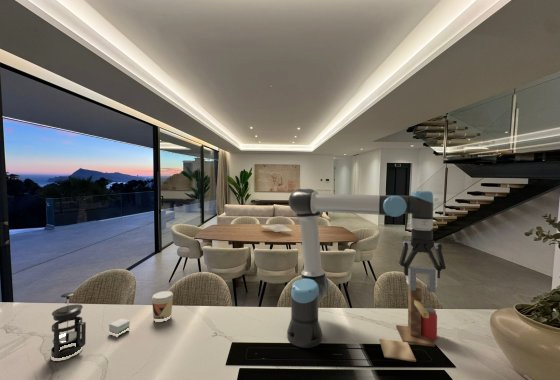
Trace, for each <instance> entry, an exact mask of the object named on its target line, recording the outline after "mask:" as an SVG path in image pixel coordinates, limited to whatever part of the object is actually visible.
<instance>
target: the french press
mask: <svg viewBox="0 0 560 380" xmlns="http://www.w3.org/2000/svg"><path fill="white" fill-rule="evenodd" d="M75 294H76V293H75V292H72V291H70V292H66V293H63V294H61V295H60V298H66V301H67V302H66V305H64V306H62V307H59V308H57V309H54V310H53V311H52V312H51V316H53V320H54V321H56V322H54V323H53V324H52V325H51V332H52V333H53V339H52V344H53V347H52V348H51V349H50V350H51V351H50V354H51V355H50V357H51V356H52V357H54V358H62V357H66V356H69V355H72V354H74V353H75V352H77V351H78V350H80V349H81V347H84V346H85V345H86V334H87V331H86V330H87V326H86V324H87V322H86V321H83V317H82V316H79V315H80V314H82V309H83V305H82V304H78V303H77V304H69V300H70V297H72V296H74V295H75ZM70 321H74V324H73V325H70V326H69V322H70ZM63 323H66V327H63V328H59V327H60V326H59V325H61V324H63ZM61 333H62V334H61ZM71 343H76V347H71V349H70V348H69V349H66V350H63V351H60V352H59V350H60V347H62V346H64V345H68V344H71Z"/></svg>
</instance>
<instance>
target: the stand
mask: <svg viewBox="0 0 560 380" xmlns="http://www.w3.org/2000/svg"><path fill="white" fill-rule="evenodd" d="M407 289H408V290H407V291H408V292H407V293H408V294H407V296H408V297H407V299H408V301H407V302H408V303H407V325H399V324H395V325H396V330H397V332H398V334H399V336H400V339H401V342H408V344H411V345H416V346H417V345H419V346H426V347H433V348H435V347H436V343H435V342H434V340H432V339H431V338H427V337H424V336H422V335H421V315H422V316H423V318H429V313H428V312H427V311H426V309H425V308H424V305H423V304H422V288H421V287H420V285H419V284H416V291H415V290H410V289H409V288H407Z"/></svg>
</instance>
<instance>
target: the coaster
mask: <svg viewBox="0 0 560 380" xmlns="http://www.w3.org/2000/svg"><path fill="white" fill-rule="evenodd" d="M379 344H380V346H381V350H382V353H383V356H384V358H388V359H394V360H401V361H407V362H415V363H416V362H417V359H416V357H415V355H414V353H413V351H412V349H411V346H410V345H409V343H408V342H403V341H402V340H401V341H399V340H392V339H386V338H385V339H384V338H379Z"/></svg>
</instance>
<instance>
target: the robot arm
mask: <svg viewBox="0 0 560 380" xmlns="http://www.w3.org/2000/svg"><path fill="white" fill-rule="evenodd" d="M288 205H289V208H290V210H292V212H293V213H295V214H296V218H297V219H298V220H299V221H300V233H301V234H300V235H301V248H302V258H303V259H302V261H303V270H302V271H301V272H300V273H301V274H300V275H301V278H300V279H297V280H295V281H294V282H293V283H292V284H291V291H290V295H291V296H290V301H291V309H290V310H291V312H290V313H291V314H290V321H289V325H288V328H287V330H286V338H287V341H288V342H289V343H291V344H292V345H293V346H295V347H297V348H303V349H305V348H306V349H310V348H314V347H317V346H318V345H320V344H321V343H322V342H323V331H322V328H321V326H320V322H319V305H320V304H321V302H322V300H323V299H324V298H325V297H326V295H327V294H328V291H329V288H330V283H329V280H328V278H327V276H326V271H325V270H324V269H323V267H322V266H323V265H322V255H321V244H320V232H319V221H318V219H319V218H320V217H321V212H325V213H342V214H343V213H344V214H362V215H378V216H388V217H389V216H390V217H393V218H395V217H396V218H397V217H401V216H402V215H403V214H407V215H408V214H409V215H410V214H411V228H412V229H411V230H410V231H411V232H410V233H411V239H410V241H403V242H402V251H401V255H400V257H399V261H398V264H399V265H400V267H403V275H404V276H406V281H405V282H406V284H407V286H408V285H410V270H411V269H410V268H409V266H411V264H412V262H413V260H414V259H415V257H416V256H417V254H418V253H424V254H425V253H426V254H427V255H428V258H429V259H430V262H431V264H432V265H433V268H434V269H435V270H436V277H435V288H438V279H440V278H441V271H442V270H445V269H446V268H447V267H446V263H445V260H444V255H443V251H442V250H443V249H442V248H443V245H442V244H441V243H439V242H436V243H435V242H434V241H433V240H434V231H433V229H434V194H433V192H432V191H429V190H413V191H412V192H411V194H410V195H394V194H393V195H392V194H387V195H379V194H378V195H377V194H345V193H344V194H341V193H340V194H338V193H337V194H336V193H332V194H331V193H319V192H318V191H316V190H314V189H311V188H298V189H294V191H292V192H291V193H290V195H289V198H288ZM411 246H412V249H411V251H410V252H409V255H408V256H407V254H408V251H409V247H411ZM433 247H434V249H435V252H436V257H437V259H436V258H435V256H434V253H433V252H432V249H433Z"/></svg>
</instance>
